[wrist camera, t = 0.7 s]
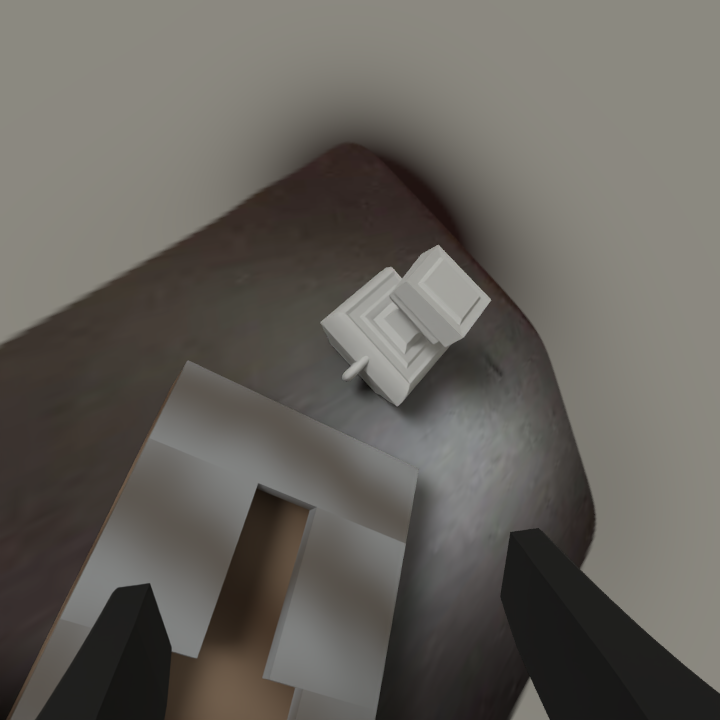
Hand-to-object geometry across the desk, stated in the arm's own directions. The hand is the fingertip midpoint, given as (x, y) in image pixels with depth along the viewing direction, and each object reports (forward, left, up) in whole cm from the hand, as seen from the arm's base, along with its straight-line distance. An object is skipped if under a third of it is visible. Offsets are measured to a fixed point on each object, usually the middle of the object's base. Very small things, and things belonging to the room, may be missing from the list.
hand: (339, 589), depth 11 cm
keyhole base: (+1, -2, -16) cm, 16 cm away
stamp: (+18, -6, -16) cm, 25 cm away
